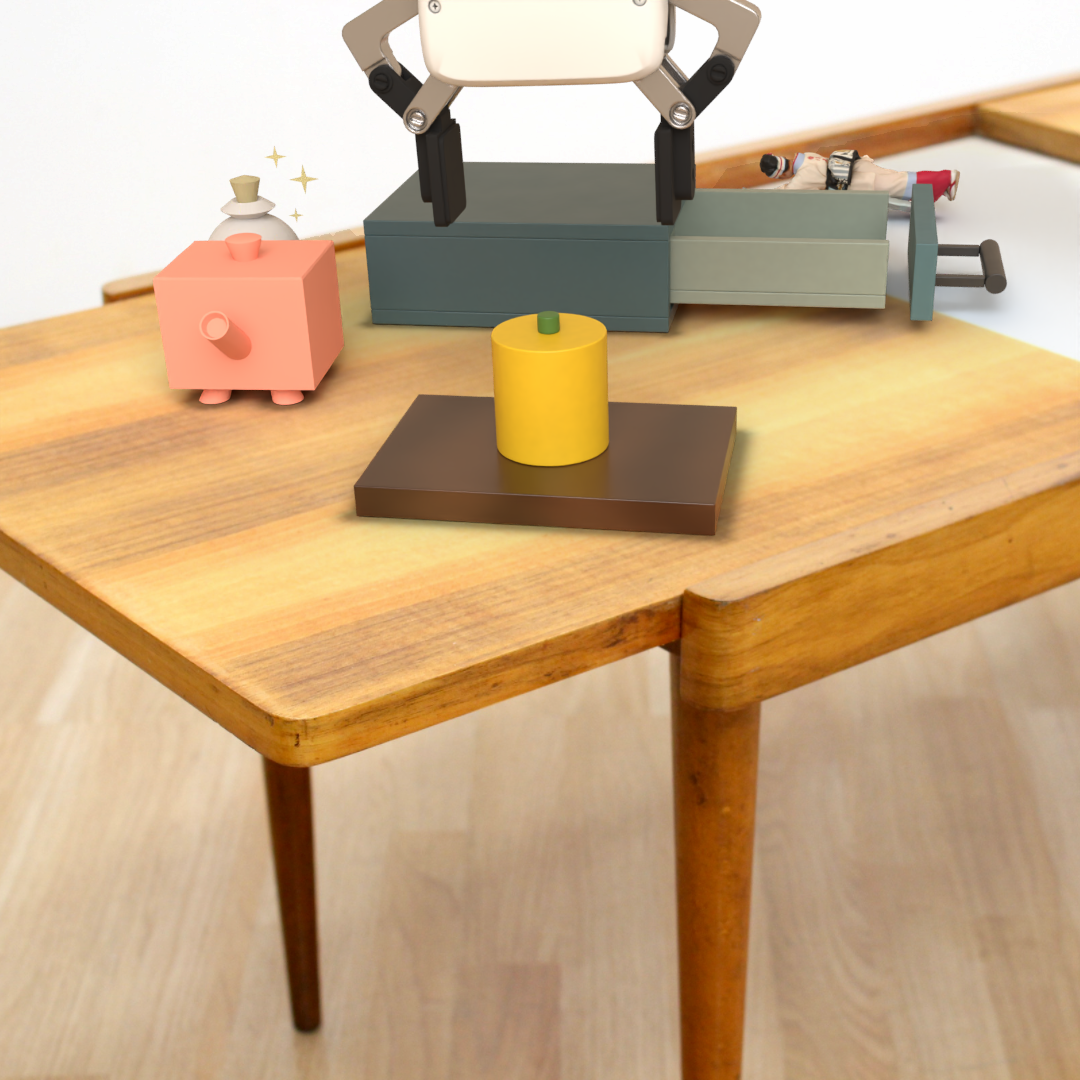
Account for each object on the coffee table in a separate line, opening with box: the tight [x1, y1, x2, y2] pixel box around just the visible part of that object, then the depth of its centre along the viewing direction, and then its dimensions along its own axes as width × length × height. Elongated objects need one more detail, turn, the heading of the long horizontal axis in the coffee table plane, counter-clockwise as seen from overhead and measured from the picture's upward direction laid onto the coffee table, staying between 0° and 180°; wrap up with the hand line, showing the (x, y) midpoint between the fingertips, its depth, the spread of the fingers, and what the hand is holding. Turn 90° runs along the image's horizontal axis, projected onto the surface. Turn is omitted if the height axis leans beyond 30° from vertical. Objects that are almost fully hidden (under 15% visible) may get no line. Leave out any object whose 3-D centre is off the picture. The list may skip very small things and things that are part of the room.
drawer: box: [670, 184, 1008, 322], centre depth 92 cm, size 21×13×4 cm, turn 79°
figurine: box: [742, 149, 961, 213], centre depth 110 cm, size 6×8×15 cm
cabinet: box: [362, 161, 697, 333], centre depth 96 cm, size 18×14×6 cm
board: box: [353, 393, 738, 536], centre depth 72 cm, size 16×11×2 cm
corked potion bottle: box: [207, 145, 318, 241], centre depth 94 cm, size 6×7×10 cm
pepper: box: [490, 311, 609, 466], centre depth 70 cm, size 5×5×6 cm
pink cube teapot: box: [152, 233, 345, 406], centre depth 82 cm, size 8×12×8 cm, turn 173°
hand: (558, 217), depth 67 cm, fingers open, 9 cm apart
